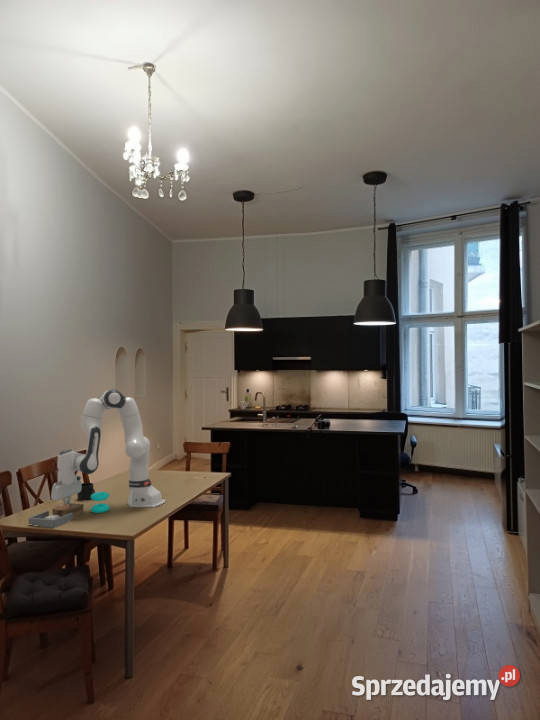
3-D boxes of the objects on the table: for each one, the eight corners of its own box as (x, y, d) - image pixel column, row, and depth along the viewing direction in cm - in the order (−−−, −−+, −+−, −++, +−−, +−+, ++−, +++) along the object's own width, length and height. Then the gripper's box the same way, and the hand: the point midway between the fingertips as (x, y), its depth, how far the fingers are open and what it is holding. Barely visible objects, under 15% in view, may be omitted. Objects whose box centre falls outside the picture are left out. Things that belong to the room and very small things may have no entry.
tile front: (52, 518, 275) (52, 522, 275) (59, 515, 279) (59, 519, 279) (45, 517, 276) (45, 521, 276) (52, 514, 281) (52, 518, 281)
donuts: (97, 490, 303) (112, 491, 300) (97, 508, 303) (112, 509, 300) (86, 495, 293) (102, 496, 290) (87, 513, 293) (102, 514, 290)
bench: (83, 513, 293) (83, 504, 293) (68, 519, 282) (68, 510, 282) (67, 511, 297) (67, 502, 297) (52, 517, 285) (52, 508, 285)
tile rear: (69, 507, 286) (69, 503, 286) (62, 510, 282) (62, 506, 282) (61, 507, 288) (61, 503, 288) (55, 509, 283) (55, 505, 283)
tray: (72, 520, 280) (72, 512, 280) (54, 528, 267) (53, 520, 267) (47, 517, 286) (47, 510, 286) (28, 525, 273) (28, 517, 273)
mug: (89, 501, 317) (89, 487, 317) (74, 500, 322) (73, 485, 322) (100, 497, 326) (99, 483, 326) (84, 496, 330) (84, 482, 330)
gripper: (57, 484, 278) (57, 510, 278) (83, 475, 297) (83, 500, 297) (47, 483, 280) (48, 509, 280) (74, 475, 299) (74, 499, 299)
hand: (66, 504), depth 289 cm, fingers closed
